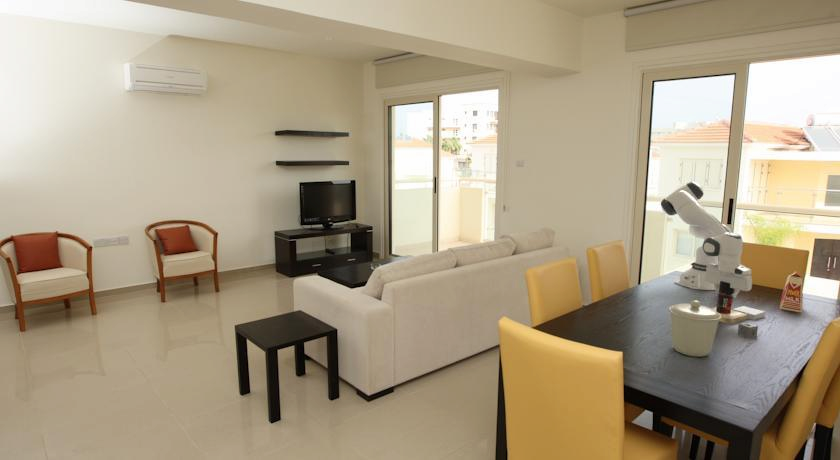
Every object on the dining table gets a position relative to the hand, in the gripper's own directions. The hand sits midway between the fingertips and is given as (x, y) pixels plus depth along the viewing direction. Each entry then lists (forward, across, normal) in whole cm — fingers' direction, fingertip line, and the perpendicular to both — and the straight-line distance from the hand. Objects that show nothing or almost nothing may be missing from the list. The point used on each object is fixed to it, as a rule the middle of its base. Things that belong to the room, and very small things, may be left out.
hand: (725, 295), depth 237 cm
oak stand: (+11, 0, 0) cm, 11 cm away
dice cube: (+11, +18, -15) cm, 26 cm away
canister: (+11, +17, -54) cm, 58 cm away
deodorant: (+8, 0, 0) cm, 8 cm away
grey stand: (+11, +4, +14) cm, 18 cm away
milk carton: (+11, +9, +45) cm, 47 cm away
